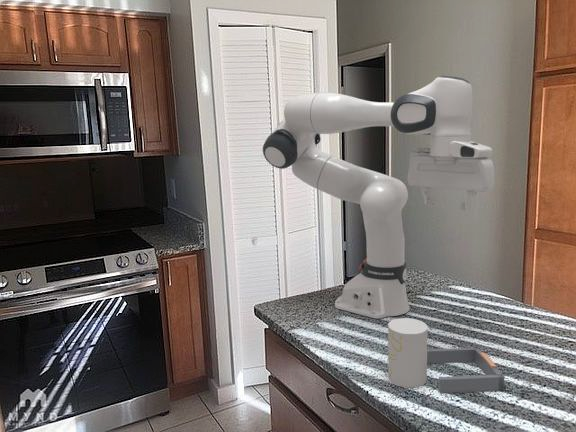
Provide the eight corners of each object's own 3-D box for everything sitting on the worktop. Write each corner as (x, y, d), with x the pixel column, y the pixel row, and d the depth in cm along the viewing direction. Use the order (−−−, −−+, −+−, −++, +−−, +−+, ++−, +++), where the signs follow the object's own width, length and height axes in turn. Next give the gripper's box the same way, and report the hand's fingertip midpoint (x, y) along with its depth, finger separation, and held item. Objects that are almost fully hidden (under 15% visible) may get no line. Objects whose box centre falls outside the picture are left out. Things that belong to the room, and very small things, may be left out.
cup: (386, 367, 104) (386, 318, 102) (422, 368, 103) (423, 318, 101) (390, 387, 96) (390, 333, 94) (430, 388, 95) (431, 334, 93)
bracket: (440, 393, 93) (440, 377, 92) (421, 361, 106) (421, 347, 105) (503, 390, 93) (504, 374, 92) (477, 359, 106) (477, 345, 105)
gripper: (403, 148, 111) (401, 204, 114) (486, 150, 96) (482, 214, 99) (417, 147, 115) (415, 201, 118) (499, 149, 100) (495, 211, 103)
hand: (446, 207), depth 108 cm, fingers open, 8 cm apart
